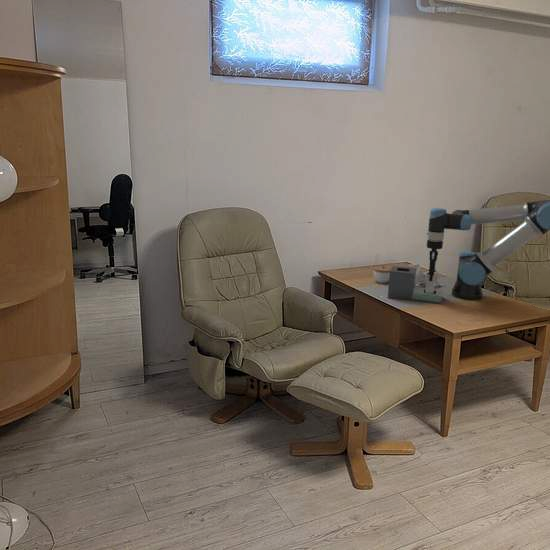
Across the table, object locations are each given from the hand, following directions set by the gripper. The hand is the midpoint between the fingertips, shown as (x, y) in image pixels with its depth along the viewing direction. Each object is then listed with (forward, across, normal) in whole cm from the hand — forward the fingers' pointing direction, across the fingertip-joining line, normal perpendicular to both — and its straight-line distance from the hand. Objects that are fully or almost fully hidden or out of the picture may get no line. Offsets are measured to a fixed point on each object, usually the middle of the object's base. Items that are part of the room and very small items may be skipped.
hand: (430, 285), depth 272 cm
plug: (+4, 0, 0) cm, 4 cm away
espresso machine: (+7, 0, -7) cm, 10 cm away
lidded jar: (+8, -24, -27) cm, 37 cm away
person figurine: (+8, -25, -5) cm, 26 cm away
